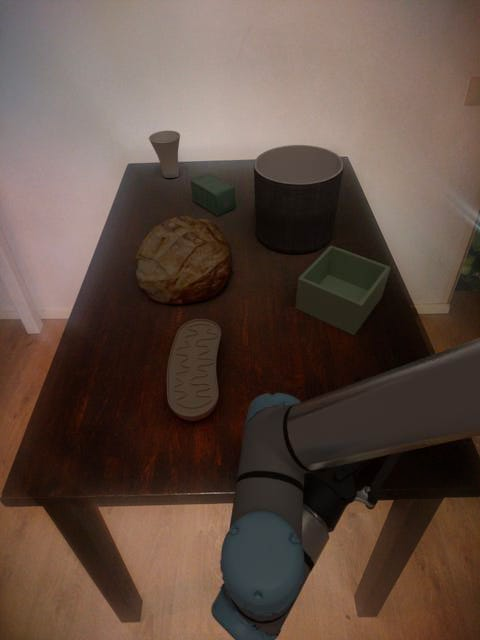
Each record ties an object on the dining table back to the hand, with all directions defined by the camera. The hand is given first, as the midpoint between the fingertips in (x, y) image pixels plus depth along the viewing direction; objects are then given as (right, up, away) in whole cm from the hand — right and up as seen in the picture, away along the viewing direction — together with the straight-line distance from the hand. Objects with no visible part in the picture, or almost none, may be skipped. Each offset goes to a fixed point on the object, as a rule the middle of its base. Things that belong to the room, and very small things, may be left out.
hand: (378, 392), depth 62 cm
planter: (-7, +37, +48) cm, 61 cm away
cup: (-47, +64, +76) cm, 110 cm away
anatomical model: (-31, 0, +14) cm, 34 cm away
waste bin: (+1, +16, +27) cm, 31 cm away
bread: (-36, +24, +37) cm, 57 cm away
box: (-31, +48, +60) cm, 83 cm away
